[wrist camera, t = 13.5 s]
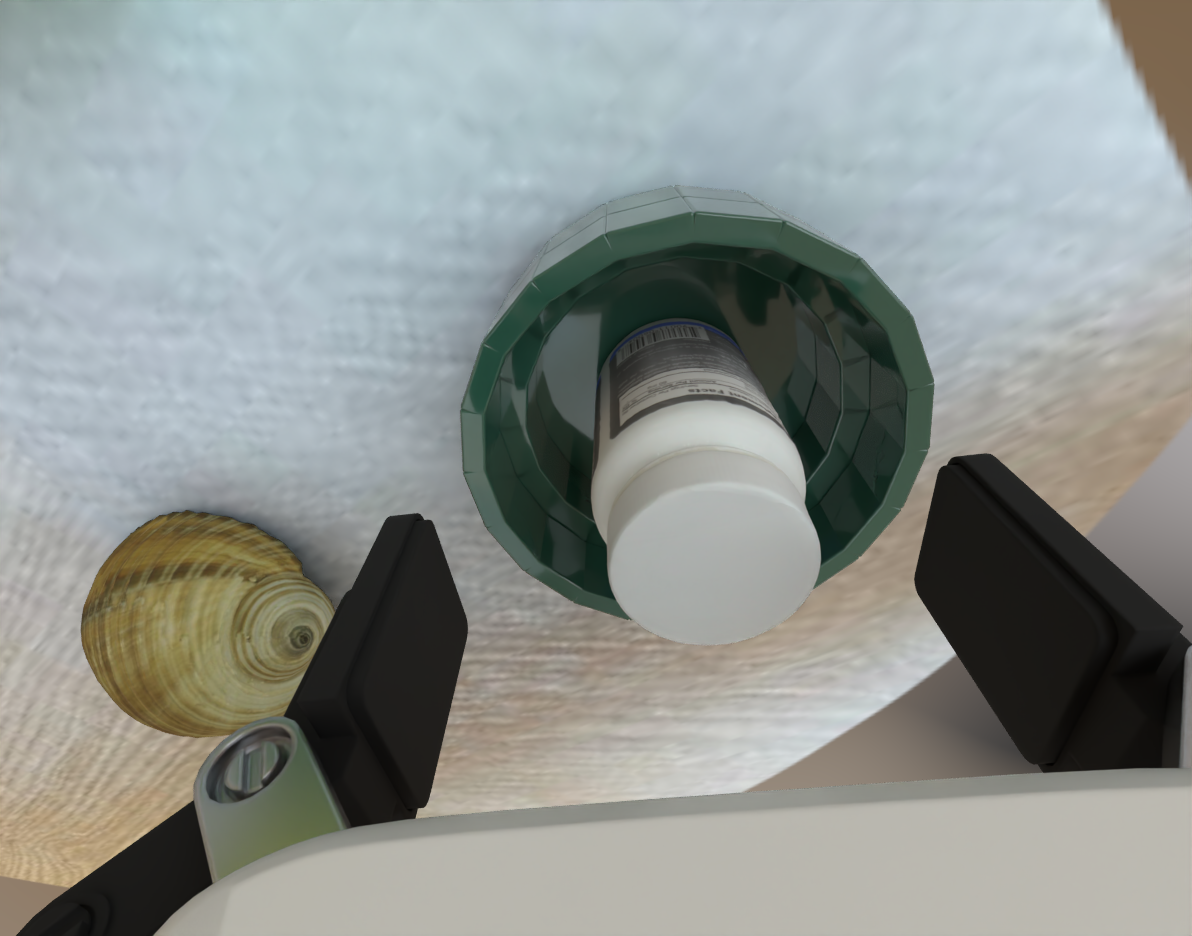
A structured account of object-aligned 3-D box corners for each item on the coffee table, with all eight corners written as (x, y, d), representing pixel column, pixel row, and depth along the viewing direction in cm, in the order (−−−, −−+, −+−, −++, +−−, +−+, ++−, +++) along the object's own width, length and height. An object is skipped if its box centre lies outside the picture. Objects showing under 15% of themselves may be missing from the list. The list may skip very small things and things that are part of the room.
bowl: (454, 458, 20) (412, 552, 16) (573, 107, 15) (557, 108, 10) (737, 558, 22) (767, 665, 18) (935, 285, 17) (1046, 346, 12)
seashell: (230, 549, 28) (215, 730, 26) (43, 530, 22) (0, 764, 19) (380, 507, 24) (379, 714, 22) (204, 468, 18) (176, 751, 16)
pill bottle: (702, 475, 20) (755, 686, 12) (573, 424, 19) (549, 620, 12) (781, 351, 17) (900, 524, 10) (636, 286, 16) (656, 427, 9)
